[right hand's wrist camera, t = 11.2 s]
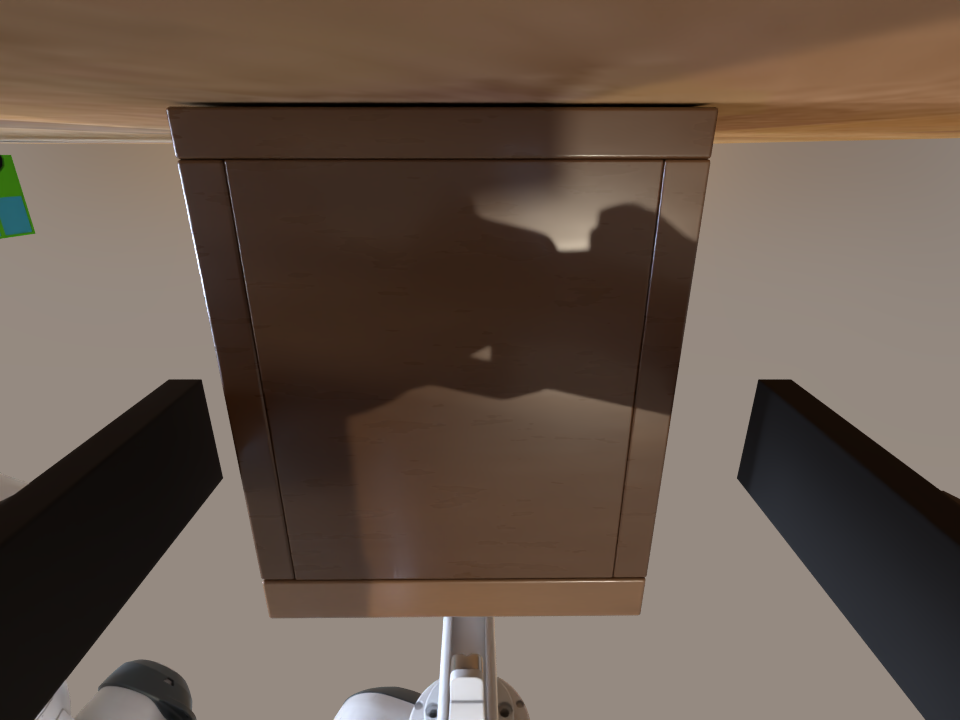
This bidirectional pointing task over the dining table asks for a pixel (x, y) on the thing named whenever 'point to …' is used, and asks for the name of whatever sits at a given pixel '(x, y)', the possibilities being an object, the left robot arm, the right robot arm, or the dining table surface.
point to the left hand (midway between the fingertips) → (467, 596)
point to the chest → (447, 328)
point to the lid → (453, 597)
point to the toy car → (12, 202)
